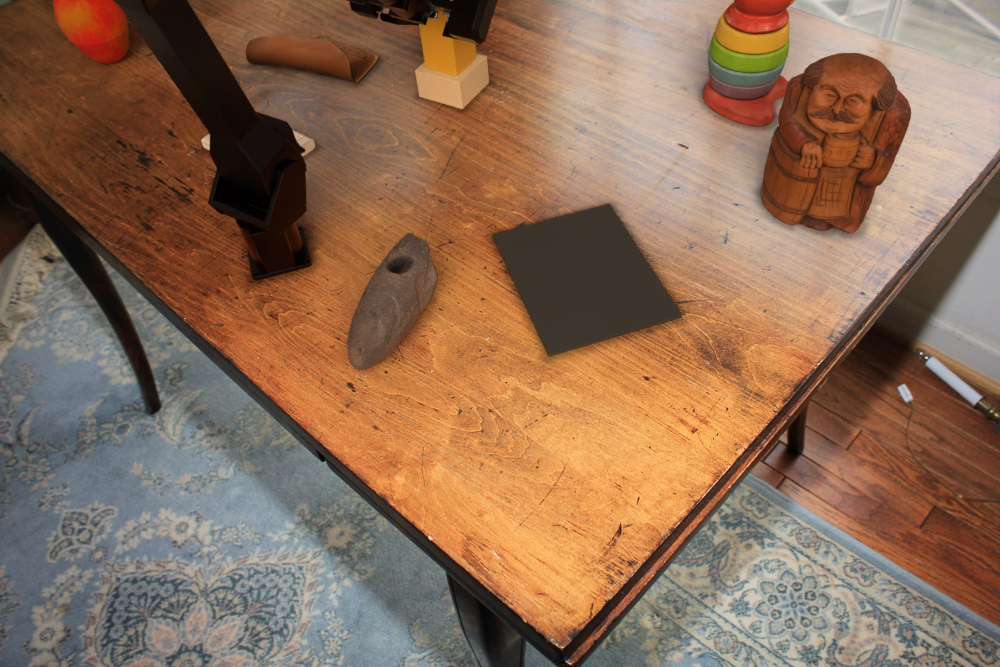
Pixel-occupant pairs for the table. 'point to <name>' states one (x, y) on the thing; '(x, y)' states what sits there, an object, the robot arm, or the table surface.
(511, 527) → the table surface
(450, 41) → the mustard block
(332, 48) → the sunglasses case
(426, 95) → the tan block
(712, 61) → the stacking bear
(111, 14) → the red orange mango
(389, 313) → the perforated stone tool
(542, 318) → the slate mat
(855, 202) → the wooden figurine
